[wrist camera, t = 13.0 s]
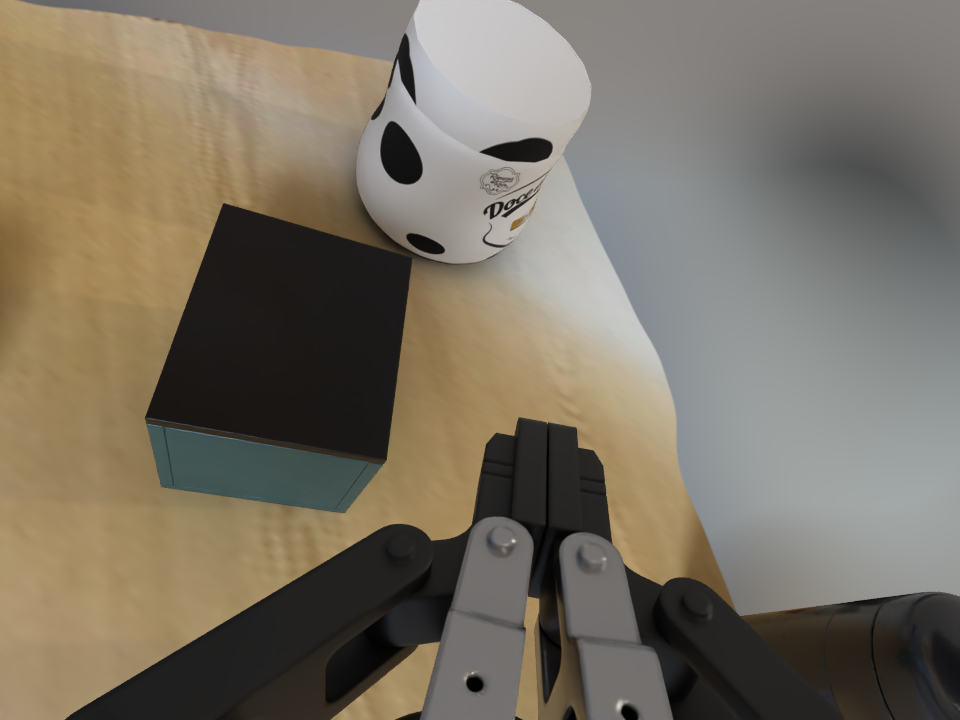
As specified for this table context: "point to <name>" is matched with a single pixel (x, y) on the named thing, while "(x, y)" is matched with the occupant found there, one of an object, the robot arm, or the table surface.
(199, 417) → the black plate
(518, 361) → the table surface
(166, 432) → the storage box
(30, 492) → the table surface
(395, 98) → the milk container
